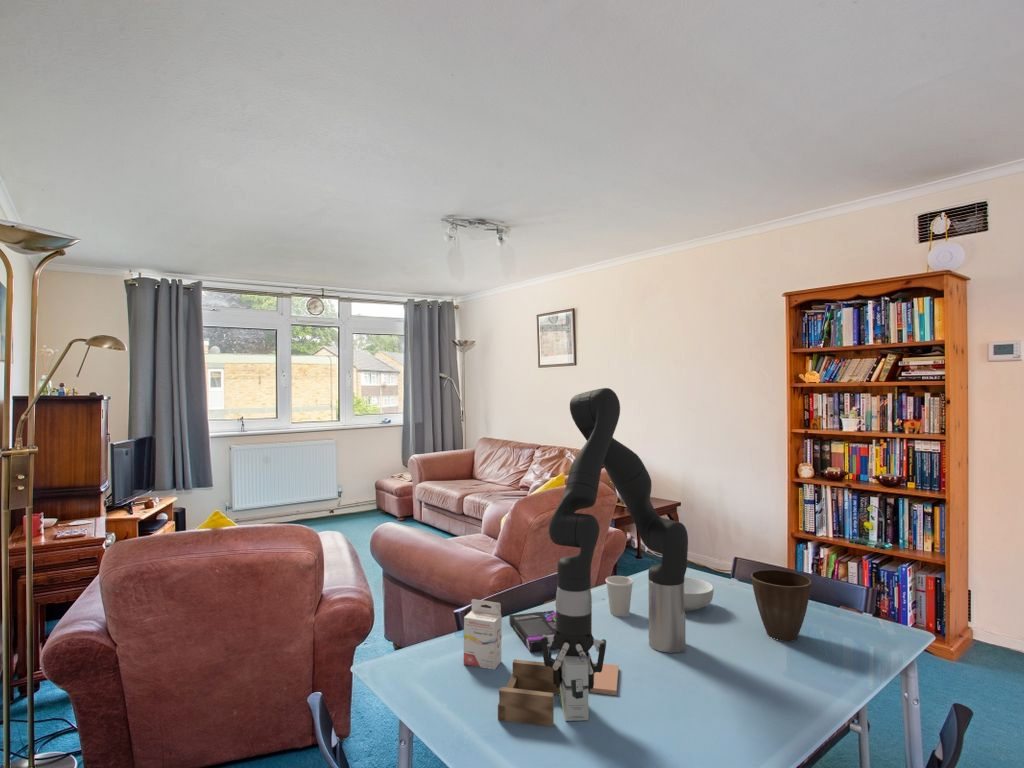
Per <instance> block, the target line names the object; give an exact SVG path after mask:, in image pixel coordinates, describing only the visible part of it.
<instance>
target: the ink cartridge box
mask: <svg viewBox="0 0 1024 768" xmlns="http://www.w3.org/2000/svg"><path fill="white" fill-rule="evenodd" d="M470 601H471V602H470V603H471V610H470V611H469V612H468V613H467V614H466V615H465V616H464V617H463V664H464V665H466V666H467V665H468V666H473V667H477V668H483V669H487V668H488V670H493V671H494V670H495V671H496V669H497V668H498V667H499V665H500V663H501V662H502V631H503V630H502V626H503V625H502V623H503V621H502V619H503V618H502V609H501V606H502V605H501V602H494V601H490V600H482V599H475V598H473V599H471V600H470ZM485 605H487V606H488V607H483V606H485ZM489 607H490V608H489Z"/></svg>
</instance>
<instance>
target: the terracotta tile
mask: <svg viewBox="0 0 1024 768" xmlns="http://www.w3.org/2000/svg"><path fill="white" fill-rule="evenodd" d="M595 663H596V662H593V664H595ZM618 680H619V665H618V664H609V663H603V667H602V671H601V672H595V673H594V687H593V689H590V692H589V693H593V694H594V693H595V694H603V695H611V696H613V695H614V696H617V693H618Z"/></svg>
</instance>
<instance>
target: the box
mask: <svg viewBox="0 0 1024 768" xmlns="http://www.w3.org/2000/svg"><path fill="white" fill-rule="evenodd" d="M508 616H509V619H508V620H509V626H510V628H513V629H512V630H513V631H514V632H515V634H516V636H517V637H518V639H520V641H521V643H522V644H523V645H524V646H525V648H526V649H527V650H528V651H529V653H530V654H534V653H543V651H542V644H541V639H542V636H543V634H545V633H546V634H548V635H554V634H555V632H556V611H555V610H547V611H537V612H528V613H520V614H519V613H517V614H509V615H508ZM555 649H556V650H559V648H558V647H557V645H556V643H555V642H554V641H553V642H552V645H551V646H550V651H554V650H555Z"/></svg>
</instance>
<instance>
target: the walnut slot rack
mask: <svg viewBox="0 0 1024 768" xmlns="http://www.w3.org/2000/svg"><path fill="white" fill-rule="evenodd" d="M559 694H560V688H556V685H554V683H553V669H552V668H551V667H549V666H548V667H547V666H545V665H544V661H535V660H534V661H533V660H523V659H513V661H512V674H511V675H510V678H509V680H508V682H507V684H506V686H505V687H504V686H500V687H499V690H498V695H499V696H498V704H497V720H498V721H502V722H503V721H504V722H511V723H518V724H525V725H532V726H533V725H534V726H540V727H548V728H549V727H550V728H553V727H554V724H555V723H554V721H555V720H554V718H555V713H554V712H555V711H554V705H555V702H554V699H555V697H554V695H559Z"/></svg>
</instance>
